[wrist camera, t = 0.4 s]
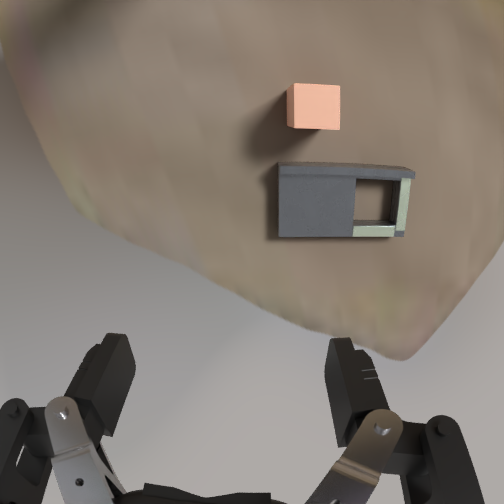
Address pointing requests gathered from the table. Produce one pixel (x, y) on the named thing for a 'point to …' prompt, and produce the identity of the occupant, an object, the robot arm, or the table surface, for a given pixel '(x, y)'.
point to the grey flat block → (336, 199)
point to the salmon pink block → (313, 106)
